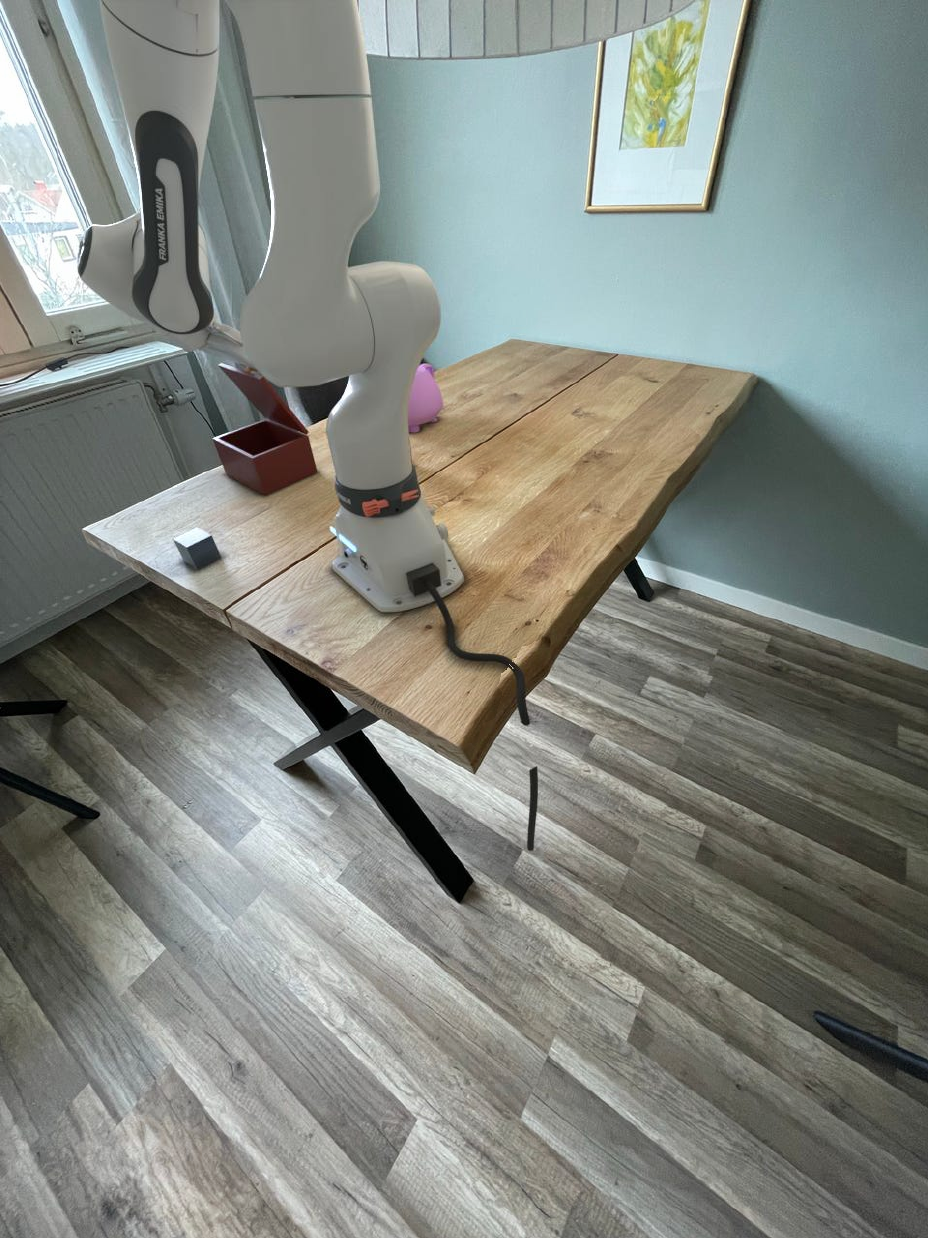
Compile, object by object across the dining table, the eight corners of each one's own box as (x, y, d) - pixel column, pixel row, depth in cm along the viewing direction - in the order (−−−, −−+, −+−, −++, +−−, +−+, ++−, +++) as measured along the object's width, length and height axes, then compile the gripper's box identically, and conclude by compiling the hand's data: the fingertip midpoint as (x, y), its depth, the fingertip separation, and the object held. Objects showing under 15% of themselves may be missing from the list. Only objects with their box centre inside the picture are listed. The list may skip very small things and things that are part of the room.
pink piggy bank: (404, 447, 116) (395, 382, 107) (354, 434, 123) (342, 372, 114) (462, 413, 129) (458, 353, 119) (413, 403, 136) (406, 345, 127)
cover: (260, 379, 92) (277, 360, 93) (217, 365, 100) (233, 347, 101) (306, 434, 103) (321, 417, 104) (264, 417, 112) (279, 401, 112)
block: (221, 557, 87) (211, 535, 84) (197, 570, 85) (186, 547, 82) (207, 548, 89) (197, 526, 86) (183, 561, 87) (172, 539, 84)
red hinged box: (265, 496, 102) (252, 458, 97) (226, 474, 111) (212, 438, 105) (317, 472, 109) (308, 435, 104) (277, 453, 117) (266, 418, 112)
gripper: (227, 309, 81) (297, 360, 93) (170, 297, 92) (239, 344, 104) (211, 347, 82) (282, 393, 93) (157, 331, 93) (227, 374, 104)
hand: (259, 367), depth 99 cm, fingers open, 8 cm apart
